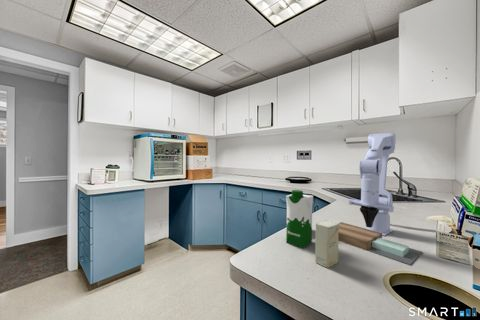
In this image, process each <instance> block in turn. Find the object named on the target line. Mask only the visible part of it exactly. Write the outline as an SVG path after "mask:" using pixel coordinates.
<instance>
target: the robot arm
mask: <svg viewBox="0 0 480 320" xmlns="http://www.w3.org/2000/svg"><path fill="white" fill-rule="evenodd" d="M396 139H397V138H396V133H395V132H388V133H387V132H386V133H385V132H384V133H383V132H382V133H370V134H368V137H367V144H368V150H367V151H366V154H365V156H364V159H362V160H360V161H359V164H358V165H359V167H358V169H359V178H360V181H361V182H360V184H361V185H360V199H353V198H350V199H348V205H354V206H359V207H360V208H359V211H360V213H361V215H362V216H363V219H364V222H365V227H366V228H365V227H364V228H365V229H369V230H373V231H376V232H380V233H382V236H387V235H388V234H390V233H392V232H393V229H391V216H390V214H389V213H394V209H395V207H394V206H393V203H394V202H393V195H392V193H391V192H389V191H388V190H387V189H386V187H387V185H386V183H387V173H388V172H387V171H388V161H389V160H388V159H389V157H390V155H392V154H393V153H395V149H396V142H397V141H396Z"/></svg>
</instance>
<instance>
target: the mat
mask: <svg viewBox="0 0 480 320" xmlns="http://www.w3.org/2000/svg"><path fill="white" fill-rule="evenodd" d="M369 252H370V253H373V254H376V255H379V256H382V257H384V258H388V259H390V260H394V261H396V262H399V263H403V264H406V265H408V266H411V265H412V264H413V263H414V262H415V261H416V260H417V259H418V258H419V257H420V255H421V254H423V250H417V249H414V248H412V247H409V252H408V253H407V254H406V255H405V256H404V257H401V256H398V255H395V254H392V253H389V252H386V251H383V250H380V249H377V248H374V247H372V248H371V249H370V250H369Z"/></svg>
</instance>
